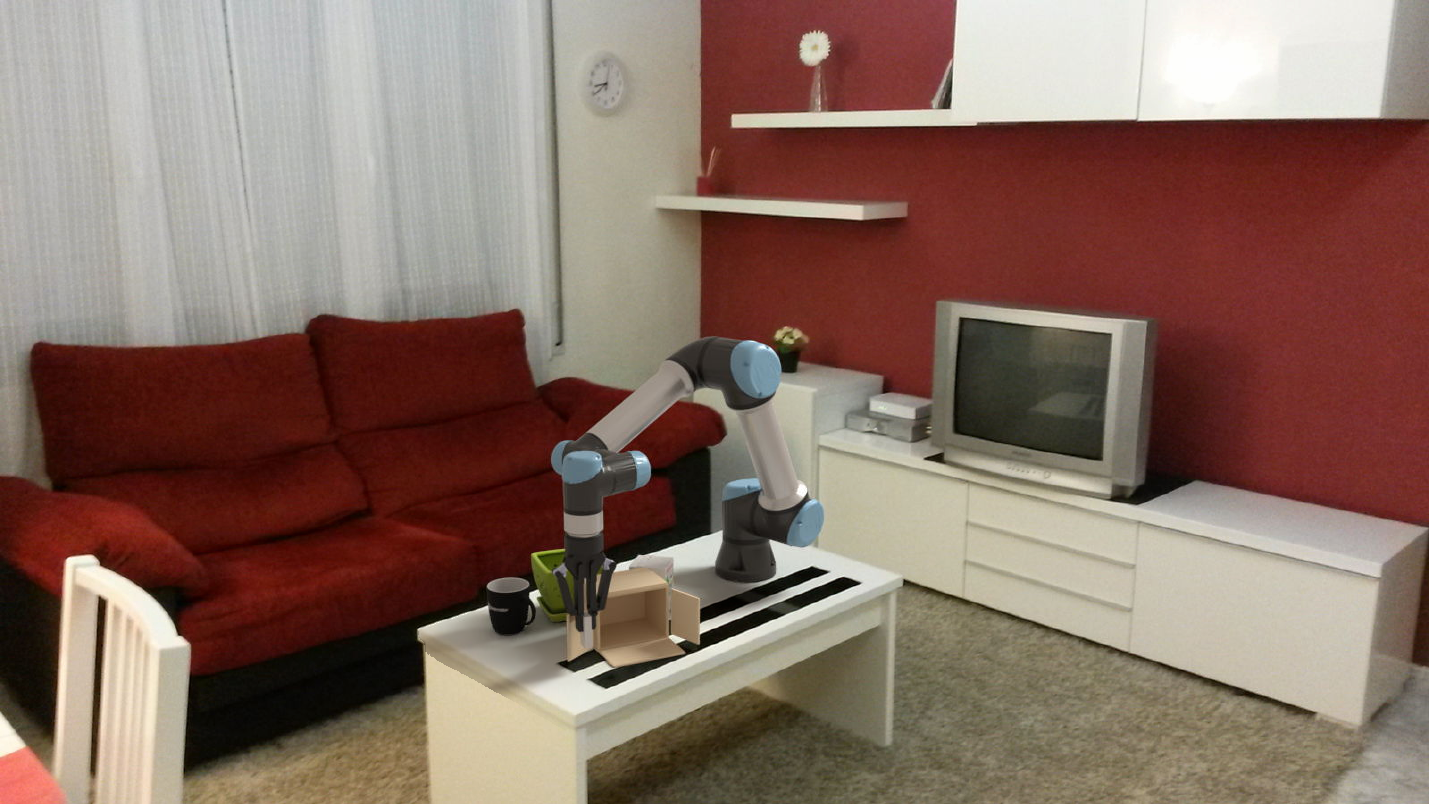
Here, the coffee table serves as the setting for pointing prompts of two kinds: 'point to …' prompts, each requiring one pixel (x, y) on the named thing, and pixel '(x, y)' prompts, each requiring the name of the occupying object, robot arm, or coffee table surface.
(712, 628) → the coffee table surface
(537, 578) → the flower pot
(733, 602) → the coffee table surface
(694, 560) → the coffee table surface
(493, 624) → the mug
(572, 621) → the flap
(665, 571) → the ink box
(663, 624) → the carton
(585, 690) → the coffee table surface
